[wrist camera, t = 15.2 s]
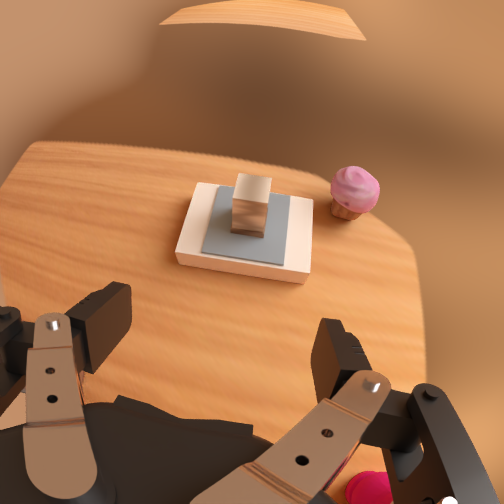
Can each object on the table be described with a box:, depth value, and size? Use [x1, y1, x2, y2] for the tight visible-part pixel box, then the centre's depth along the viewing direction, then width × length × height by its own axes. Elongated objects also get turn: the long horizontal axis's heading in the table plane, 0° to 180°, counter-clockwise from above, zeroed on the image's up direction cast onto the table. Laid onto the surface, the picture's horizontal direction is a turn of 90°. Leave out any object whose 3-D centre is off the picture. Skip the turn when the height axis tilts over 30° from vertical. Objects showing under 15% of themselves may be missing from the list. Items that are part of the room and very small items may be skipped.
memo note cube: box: [231, 173, 272, 238], centre depth 43 cm, size 5×5×8 cm
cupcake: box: [331, 166, 380, 220], centre depth 50 cm, size 9×9×10 cm
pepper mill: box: [345, 471, 394, 504], centre depth 22 cm, size 7×7×20 cm
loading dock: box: [175, 182, 313, 284], centre depth 48 cm, size 20×14×4 cm
